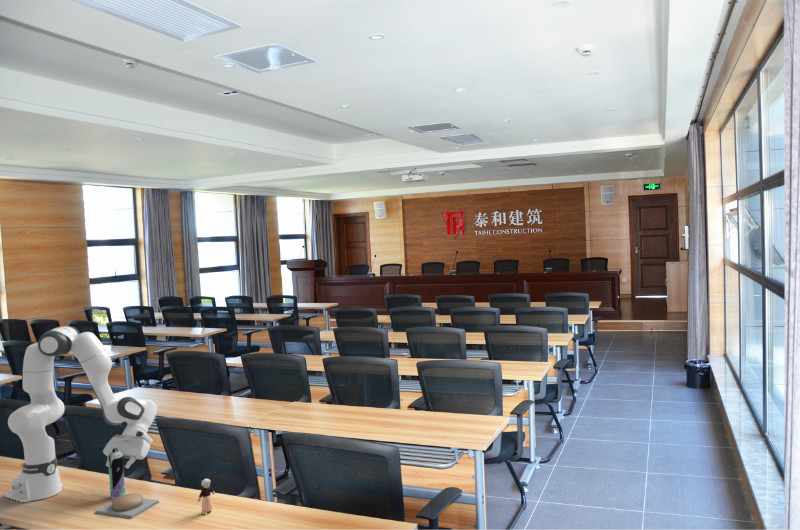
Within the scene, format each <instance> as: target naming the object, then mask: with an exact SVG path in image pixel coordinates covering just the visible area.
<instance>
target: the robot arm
mask: <svg viewBox="0 0 800 530" xmlns="http://www.w3.org/2000/svg"><path fill="white" fill-rule="evenodd" d="M68 354H73V355H74V356H75V358H76V359H77V360H78V362H79V364H80V366H81V367H82V369H83V371H84V373H85V374H86V377H87V379H88V382H89V384H90V386H91V389H92V391H93V393H94V394H95V397H96V399H97V401H98V403H99V405H100V408H101V412H102V413H101V414H102V418H103V420H104V422H105V423H106V424H108V425H110V426H119V425H121V424H123V423H124V422H125V423H127V424H126V427H125V428H124V430H123V432H122V434H116V435H114V436H113V437H111V438H110V439H109V441H108V442H107V443H106V445H105V447H104V448H103V450H102V452H103V454H104V455H105V456H106V457H107V461H106V464H105V466H106V467H108V468H109V463H108V457H109V456H108V455H109V454H110V453H112V451H113V449H114V448H117V450H119V451H120V452H122V453H123V459H129V460H128V461H127V462H125V463H124V464H123V465H124V469H126V470H127V469H129V468H130V467H131V465H132V464H134V463H135V462H136V460H142V461H143V460H144V459H145V458H146V457H147V455H148V453H149V451H150V448H151V445H152V443H153V441H154V440H153V439H152V437H150V436H149V435H148V430H149V428H150V427H151V426H152V425H153V422H154V420H155V418H156V416H157V412H158V405H157V404H156V402H155V401H153V400H152V399H149V398H140V399H139V398H135V397H131V396H124V397H122V398H119V399H117V398H116V395H115V394H114V392H113V391H112V388H111V386H110V384H109V380H108V379H109V378H108V377H109V374H110V371H111V369H112V366H113V361H112V358H111V356H110V353H109V352H108V350H107V349H106V347H105V345H104V344H103V343H102V342H101V341H100V339H99V338H98V336H96V334H95V333H94V332H91V331H83V332H81V333H80V331H79V329H77V328H76V327H74V326H72V325H62V326H57V327H55V328H53V329H51V330H48V331H45V333H43V334H42V335H41V336H40V337H39V339H38V341H37V342H35V343H31V344H30V345H28V346H27V347H26V349H25V353H24V357H23V364H22V390H23V391H24V392H25V393H26V394H27V393H28V395H29V398H30V403H28V404H27V405H23V406H21V407H19V408H17V409H16V410H14V411H13V412H11V414H10V415H9V416H8V419H7V425H8V428H9V430H10V431H11V432H12V433H14V434H16V435H17V436H18V437H19V438H20V441H21V442H22V443H21V444H22V446H23V453H24V455H23V457H24V463H22V464H20V468H22V470H21V471H20V473H19V474H18V475H17V476H16V477H15V478H14V479H13V480H12V481H11V484H10V490H9V491H8V492H5V494H4V498H6V497H7V498H6V499H9V498H10V499H9V500H12V499H13V500H12V501H15V500H16V501H15V502H18V501H19V502H18V503H21V502H22V503H21V504H23V502H24V503H28V502H32V501H33V502H34V501H38V500H43V499H47V498H50V497H54V496H55V495H58V494H59V493H60V492H62V491H63V486H64V484H63V482H61V481H62V480H61V477H60V476H61V475H60V472H59V471H60V470H59V467H58V459H57V456H56V448H55V447H56V446H55V445H56V444H55V439H54V438H53V437H51V436H49V435H48V434H47V430H46V426H48V425H51V424H52V423H55V422H56V421H58V419H60V418H61V417H62V416H63V415H64V413H65V411H66V410H65V408H66V407H65V404H64V402H63V401H62V400H61V399H60V398H59V397H58V396H57V393H56V390H55V385H54V384H55V383H54V364H55V363H54V362H55V358H56V357H59V356H64V355H68Z"/></svg>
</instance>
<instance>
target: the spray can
mask: <svg viewBox="0 0 800 530" xmlns="http://www.w3.org/2000/svg"><path fill="white" fill-rule="evenodd" d="M108 456H109V457H108ZM108 456H107V457H108V463H109V467H108V477H109V493H110V499H112V500H113V499H115V498H117V497H119V496H121V495H125V494H126V484H125V483H126V482H125V468H124V465H125V464H124V458H123V453H122V452H120V451H119V450H117V448H114V449H113V451H112V453H110V454H109V455H108Z"/></svg>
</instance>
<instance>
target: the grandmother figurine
mask: <svg viewBox="0 0 800 530" xmlns="http://www.w3.org/2000/svg"><path fill="white" fill-rule="evenodd" d="M210 485H211V480H210V479H209V478H204V479H203V480H201V486H202V490H201V491H200V493H199V495H198V499H197V502H198V503H200V502H201V501H202V502H201V513H202V514H206V513H207V511H211V510H213V504H212V498H211V494H212V495H214V496H215V494H216V493H215V490H214V488H213V487H212V486H210ZM202 514H201V515H202ZM206 515H207V514H206Z"/></svg>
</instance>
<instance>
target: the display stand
mask: <svg viewBox="0 0 800 530" xmlns="http://www.w3.org/2000/svg"><path fill="white" fill-rule="evenodd" d="M157 503H158V504H160V500H159V499H152V498H144V497H143V494H141V493H138V492H133V493H132V492H131V493H127V494H126V493H125V495H121V496H119V497H117V498H115V499H112V500H111V502H109V503H107V504H105V505H103V506H101V507H99V508H97V509H96V510H95V514H99V515H100V514H101V515H106V516H107V515H109V516H116V517H121V518H122V517H123V518H127V517H129V519H134V518H135V517H138V516H139V515H140V514H142V513H144V512H145V510H146V511H147V510H149V509H151V508H152V506H153V505H154V506H156V505H158V504H157ZM155 504H156V505H155ZM154 506H153V507H154ZM150 507H151V508H150ZM148 508H149V509H148ZM143 511H144V512H143ZM138 514H139V515H138ZM134 516H135V517H134Z"/></svg>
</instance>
